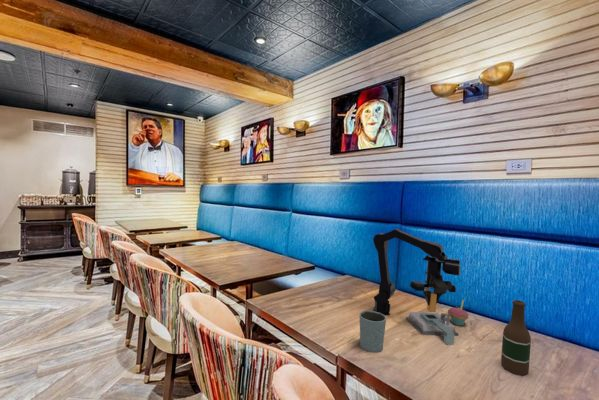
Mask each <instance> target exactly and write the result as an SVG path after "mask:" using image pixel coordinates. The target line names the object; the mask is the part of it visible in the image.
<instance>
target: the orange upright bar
mask: <svg viewBox="0 0 599 400" xmlns="http://www.w3.org/2000/svg"><path fill="white" fill-rule="evenodd" d="M431 292H432V291H431ZM436 298H437V294H435V293H434V291H433V292H432V293H431V294H430V305H428V304H427V303H426V305H427V307H426V310H427V312H429V313H437V312H436V311H437V310H436V309H437V304H436Z"/></svg>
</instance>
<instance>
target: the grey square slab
mask: <svg viewBox="0 0 599 400" xmlns="http://www.w3.org/2000/svg"><path fill="white" fill-rule="evenodd" d="M405 318H406V320H407V321H408V322H409V323H410V324H411V325H412V326H413V327H414V329H416V331H417V332H418V333H420V335H422V336H424V335H425V336H443V343H444V344H445V345H446V344H453V345H454V344H455V337H456V336H459V333H458V332H456V326H455V324H453V323H452V322H450V320H451V317H450V315H449V314H448V313H445V312H443V313H439V312H427V311H426V312H425V311H424V312H422V311H421V312H419V311H409V313H408V316H405Z"/></svg>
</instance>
